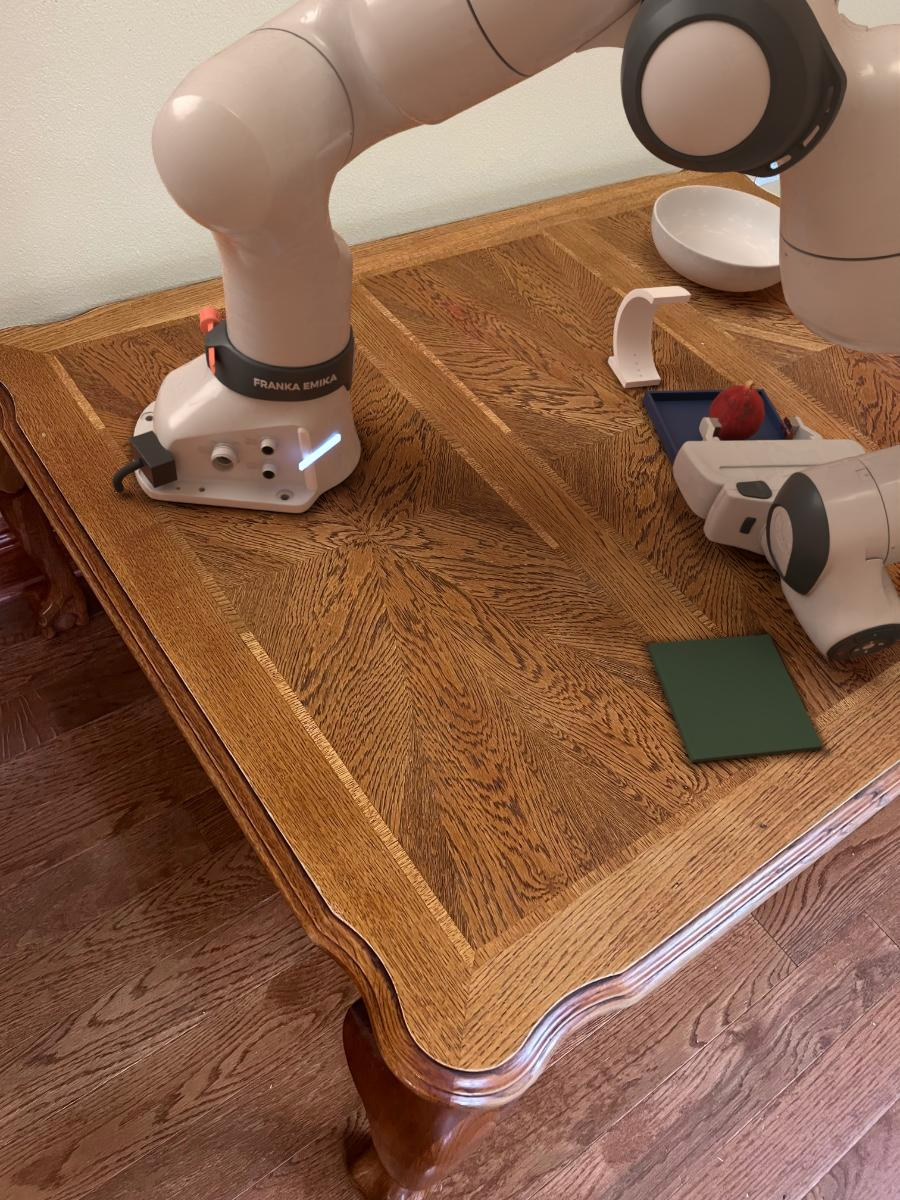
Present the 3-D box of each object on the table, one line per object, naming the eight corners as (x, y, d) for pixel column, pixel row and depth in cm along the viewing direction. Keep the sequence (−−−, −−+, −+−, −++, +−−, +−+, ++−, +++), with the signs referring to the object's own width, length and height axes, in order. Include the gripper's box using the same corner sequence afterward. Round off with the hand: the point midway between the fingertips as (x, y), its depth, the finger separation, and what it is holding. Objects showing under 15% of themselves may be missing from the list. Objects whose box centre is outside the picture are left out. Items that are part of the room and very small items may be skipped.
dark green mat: (690, 763, 78) (693, 759, 77) (646, 647, 85) (648, 643, 85) (820, 749, 80) (823, 746, 80) (766, 637, 88) (769, 634, 87)
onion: (750, 462, 103) (778, 405, 97) (698, 451, 103) (723, 392, 97) (749, 429, 107) (777, 372, 101) (700, 418, 107) (724, 360, 101)
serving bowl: (807, 267, 133) (828, 221, 127) (758, 333, 120) (779, 285, 115) (674, 213, 138) (689, 167, 133) (614, 271, 126) (628, 222, 120)
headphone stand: (624, 388, 109) (653, 298, 100) (604, 357, 113) (630, 266, 104) (659, 384, 111) (691, 295, 102) (638, 353, 114) (667, 264, 105)
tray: (684, 491, 99) (688, 480, 98) (642, 401, 108) (645, 390, 107) (809, 486, 102) (815, 476, 101) (758, 398, 111) (763, 388, 110)
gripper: (909, 489, 91) (849, 397, 99) (713, 494, 87) (669, 398, 95) (878, 534, 96) (823, 443, 104) (691, 540, 92) (651, 445, 100)
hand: (748, 421), depth 100 cm, fingers open, 8 cm apart
